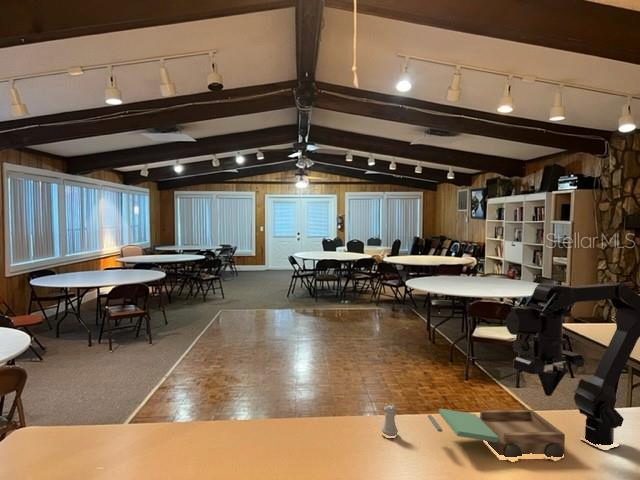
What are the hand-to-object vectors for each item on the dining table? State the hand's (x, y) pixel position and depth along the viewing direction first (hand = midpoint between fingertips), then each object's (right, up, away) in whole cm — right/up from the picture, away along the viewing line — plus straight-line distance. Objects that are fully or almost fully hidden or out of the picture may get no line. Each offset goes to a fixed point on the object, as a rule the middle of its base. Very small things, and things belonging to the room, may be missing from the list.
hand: (548, 395), depth 106 cm
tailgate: (-16, -9, 0) cm, 18 cm away
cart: (-8, -13, +1) cm, 15 cm away
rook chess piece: (-39, -13, +5) cm, 42 cm away
